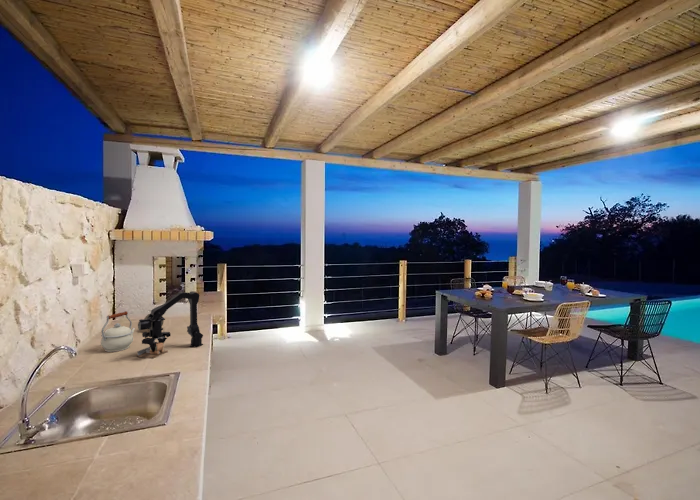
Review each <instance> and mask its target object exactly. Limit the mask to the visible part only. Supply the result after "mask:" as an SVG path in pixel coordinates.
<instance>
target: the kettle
mask: <svg viewBox="0 0 700 500" xmlns="http://www.w3.org/2000/svg"><path fill="white" fill-rule="evenodd" d="M128 314H129V312H128V311H122V312H118V313H114V314H109V315H106V322H105V324H104V325H103V327H102V329H101V339H100V346H101V347H102V349H104V351H105V352H109V353H114V352H121V351H125V350H127V349H129V348H130V345H131V344H132V343H133V341H134V337H133V334H134V332H135V329H136V328H135V327H132V325H133V323H132V320H131V319H130V318H129V316H128ZM123 316H125V318H126V319H127V320H128V321H129V326H125V325H121V323H118V322H117V323H115V324H114V325H113V326H112V327H109V328H107V329H106V330H105V328H106V326H107V325H108V323H109V320H111V319H115V318H120V317H123Z"/></svg>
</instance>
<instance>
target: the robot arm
mask: <svg viewBox="0 0 700 500" xmlns="http://www.w3.org/2000/svg"><path fill="white" fill-rule="evenodd" d="M182 299H187V301H188V303H189V320H190V322H189V325H187V326H186V328H187V331H186V333H188V335H190V337H191V339H190V345H189V347H193V348H198V347H199V348H200V347H201V346H203V345H204V344H203V343H202V342H203V337H204V334H202V333H201V330H200V326H199V324H198V303H199V301H200V300H199V299H200V294H199V293H198V292H196V291H190V292H185V291H184V292H181V291H179V292H177V294H175V295H174V296H172V298H171V297H170V299H169V300H167V301H166V302H164V303H163V304H160V305H158V306H156V307H154V308H152V310H150V313H149V314H150V315H149V316H148V317H147V319H143V318H141V319H138V323H137V329H138V330H139V331H144V330H148V329H150V328H151V326H152V329H150V330H149V331H144V332H141V336H142V338H143V339H141V344H142V345H149V347H151V350H152V352H154V351H155V347H156V343H157V342H159V343H163V345H164V344H165V342H166V340H167V339H168V338H169V337H171V332H170V331H163V330H164V328H163V325H162V320H164V321H165V320H166V318H164V315H165V314H166V312H167V311H168V310H169V309H170V308H171V307H173V306H174V305H176V304H177V303H178V302H179V301H181V300H182ZM156 340H157V341H156Z"/></svg>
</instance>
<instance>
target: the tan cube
mask: <svg viewBox="0 0 700 500" xmlns="http://www.w3.org/2000/svg"><path fill="white" fill-rule="evenodd" d="M156 342H157V343H156V347H155V351H154V352H152V350H151V347H150V346H149V347H150V354H159V351H160V352H163V350H164V344H163V343H159V342H158V341H156Z"/></svg>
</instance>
